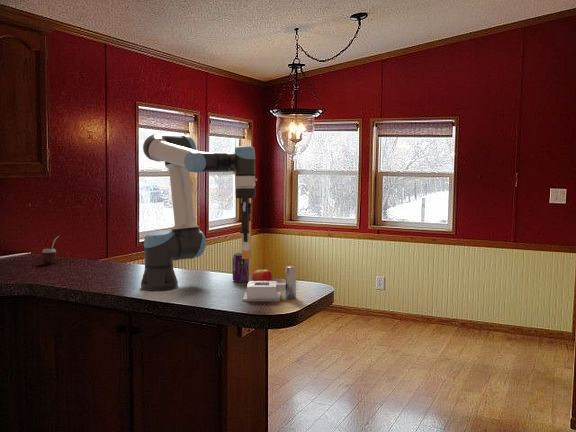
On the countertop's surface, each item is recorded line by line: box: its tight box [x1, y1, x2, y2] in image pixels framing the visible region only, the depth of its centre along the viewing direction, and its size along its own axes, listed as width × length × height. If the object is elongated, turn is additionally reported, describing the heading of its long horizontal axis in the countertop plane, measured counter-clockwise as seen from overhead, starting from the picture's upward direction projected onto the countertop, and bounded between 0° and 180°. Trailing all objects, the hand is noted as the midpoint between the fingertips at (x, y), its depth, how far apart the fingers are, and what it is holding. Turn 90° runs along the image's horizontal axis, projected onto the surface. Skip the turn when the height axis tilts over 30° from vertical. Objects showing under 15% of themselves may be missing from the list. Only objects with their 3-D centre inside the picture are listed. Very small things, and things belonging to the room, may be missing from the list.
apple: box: [251, 264, 273, 281], centre depth 250 cm, size 8×8×10 cm
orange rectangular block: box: [240, 220, 252, 260], centre depth 227 cm, size 4×4×14 cm
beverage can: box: [232, 252, 250, 283], centre depth 264 cm, size 7×7×12 cm
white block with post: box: [242, 265, 297, 302], centre depth 231 cm, size 20×12×12 cm, turn 90°
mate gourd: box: [41, 235, 60, 266], centre depth 309 cm, size 8×8×15 cm
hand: (246, 249), depth 227 cm, fingers closed on orange rectangular block, 3 cm apart
